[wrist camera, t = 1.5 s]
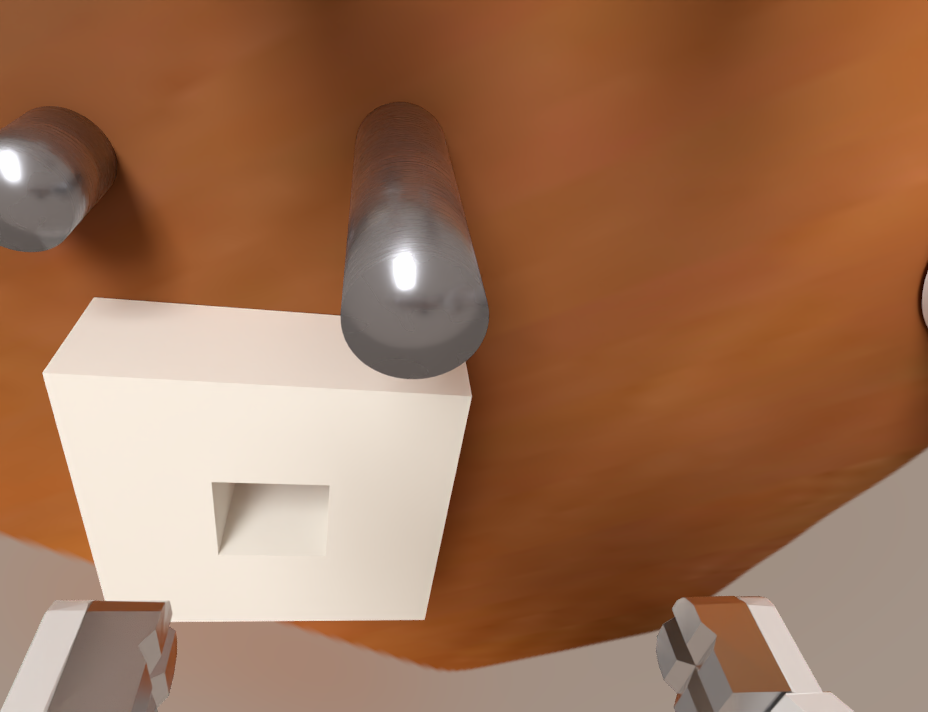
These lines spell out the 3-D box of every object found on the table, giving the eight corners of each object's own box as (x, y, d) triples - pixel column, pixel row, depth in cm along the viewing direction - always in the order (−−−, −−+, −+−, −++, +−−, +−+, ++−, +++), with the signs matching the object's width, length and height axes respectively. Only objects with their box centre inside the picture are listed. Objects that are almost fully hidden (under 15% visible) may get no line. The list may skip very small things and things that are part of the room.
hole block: (458, 324, 35) (471, 396, 30) (419, 540, 45) (424, 619, 40) (93, 297, 31) (42, 372, 27) (141, 536, 42) (111, 622, 37)
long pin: (451, 108, 28) (501, 261, 17) (439, 196, 30) (475, 382, 19) (358, 95, 27) (344, 247, 16) (352, 186, 29) (337, 375, 18)
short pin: (109, 113, 27) (61, 154, 23) (123, 204, 29) (82, 256, 25) (1, 100, 26) (-68, 140, 22) (24, 194, 28) (-34, 246, 24)
